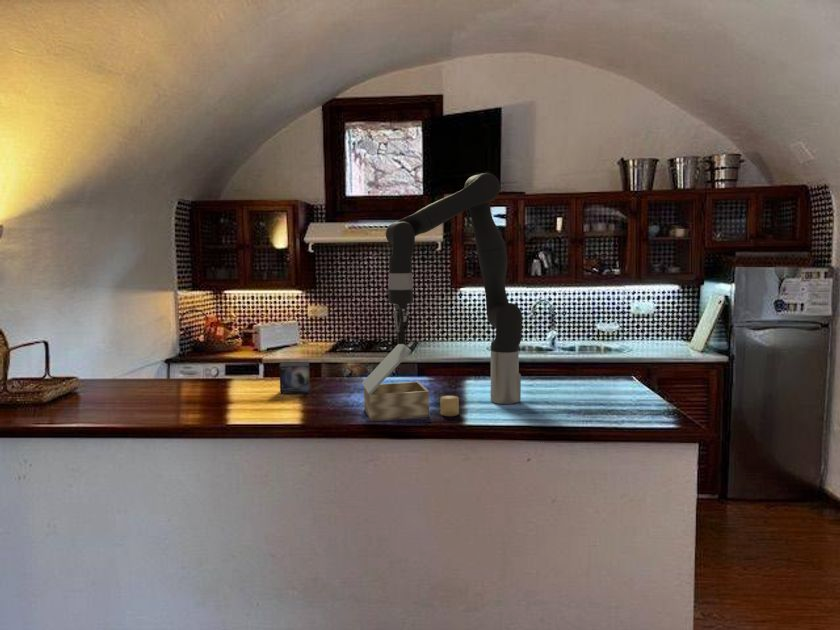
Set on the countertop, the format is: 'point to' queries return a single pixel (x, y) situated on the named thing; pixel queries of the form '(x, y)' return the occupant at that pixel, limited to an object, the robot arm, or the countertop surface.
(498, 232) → the robot arm
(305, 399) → the countertop surface
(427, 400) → the crate
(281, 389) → the small box
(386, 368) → the lid
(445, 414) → the tan rounded piece
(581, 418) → the countertop surface
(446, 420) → the countertop surface
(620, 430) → the countertop surface
